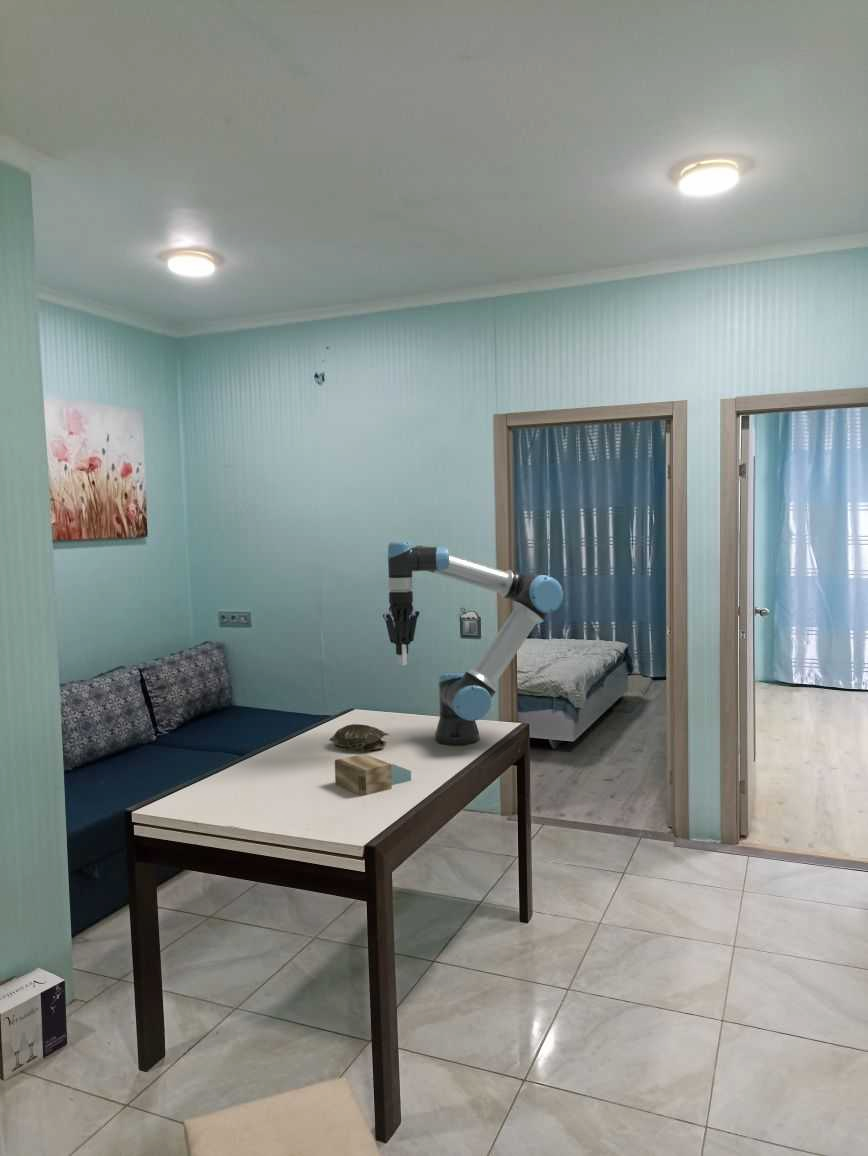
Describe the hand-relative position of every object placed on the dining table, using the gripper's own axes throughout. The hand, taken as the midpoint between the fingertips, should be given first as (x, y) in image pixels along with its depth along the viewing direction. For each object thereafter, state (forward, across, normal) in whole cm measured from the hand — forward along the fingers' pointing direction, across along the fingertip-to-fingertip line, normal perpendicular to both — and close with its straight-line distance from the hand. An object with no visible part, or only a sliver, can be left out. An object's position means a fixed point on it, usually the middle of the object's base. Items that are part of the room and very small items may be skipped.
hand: (402, 664), depth 273 cm
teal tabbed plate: (+30, +21, +18) cm, 40 cm away
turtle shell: (+30, +5, -19) cm, 36 cm away
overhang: (+29, +27, +18) cm, 44 cm away
